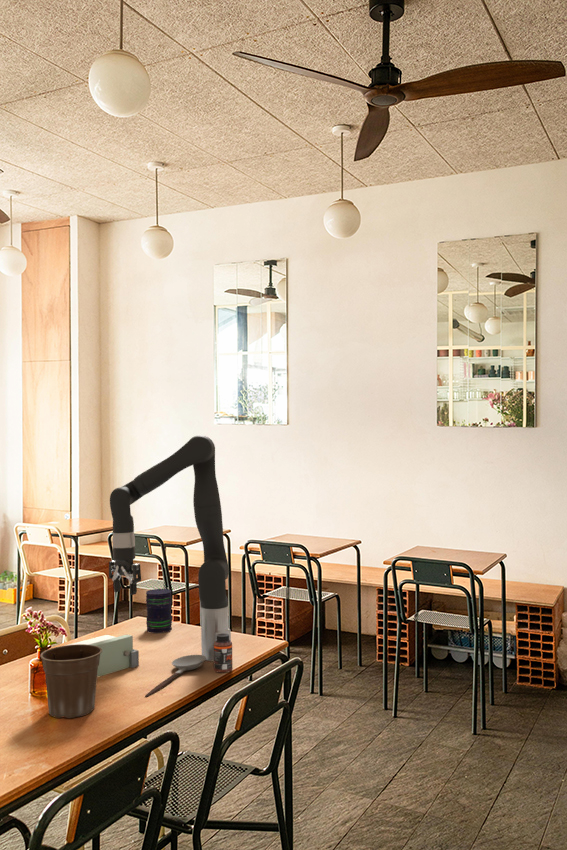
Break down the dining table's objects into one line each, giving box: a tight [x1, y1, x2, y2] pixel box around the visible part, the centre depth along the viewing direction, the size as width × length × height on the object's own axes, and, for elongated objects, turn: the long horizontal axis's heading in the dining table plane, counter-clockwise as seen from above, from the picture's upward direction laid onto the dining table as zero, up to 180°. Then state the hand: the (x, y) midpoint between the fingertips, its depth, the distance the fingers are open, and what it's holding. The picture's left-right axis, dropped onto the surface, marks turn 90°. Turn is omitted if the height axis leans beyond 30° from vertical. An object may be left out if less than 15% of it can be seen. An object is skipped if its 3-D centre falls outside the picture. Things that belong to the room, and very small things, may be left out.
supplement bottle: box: [213, 633, 233, 674], centre depth 233 cm, size 6×6×11 cm
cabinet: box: [64, 634, 140, 669], centre depth 236 cm, size 16×23×8 cm
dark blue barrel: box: [145, 588, 173, 634], centre depth 285 cm, size 10×10×15 cm
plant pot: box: [40, 644, 102, 719], centre depth 201 cm, size 16×16×16 cm
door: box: [89, 634, 134, 678], centre depth 232 cm, size 4×20×10 cm, turn 139°
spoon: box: [144, 654, 206, 698], centre depth 225 cm, size 11×33×3 cm, turn 160°
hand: (125, 593), depth 249 cm, fingers open, 8 cm apart
